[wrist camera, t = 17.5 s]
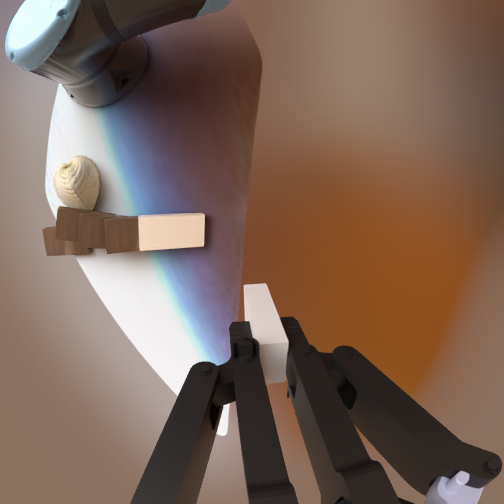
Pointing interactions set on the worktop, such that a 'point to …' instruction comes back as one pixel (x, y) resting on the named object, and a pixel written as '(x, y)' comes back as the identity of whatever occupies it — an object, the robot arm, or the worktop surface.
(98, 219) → the domino
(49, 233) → the domino
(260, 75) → the worktop surface
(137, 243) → the domino
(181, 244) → the domino
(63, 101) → the worktop surface
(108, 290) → the worktop surface
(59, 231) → the domino
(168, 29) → the worktop surface
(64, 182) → the seashell
